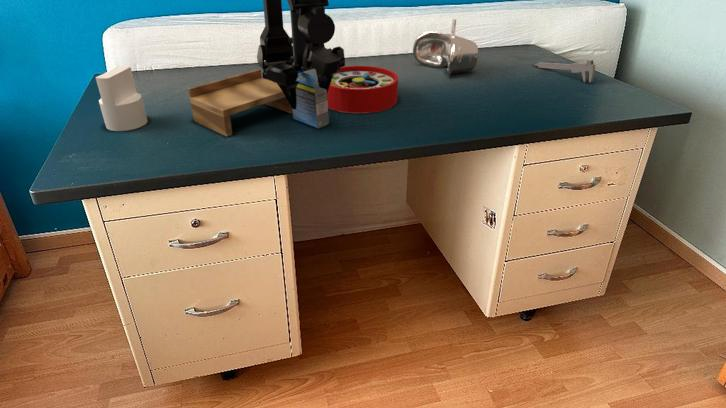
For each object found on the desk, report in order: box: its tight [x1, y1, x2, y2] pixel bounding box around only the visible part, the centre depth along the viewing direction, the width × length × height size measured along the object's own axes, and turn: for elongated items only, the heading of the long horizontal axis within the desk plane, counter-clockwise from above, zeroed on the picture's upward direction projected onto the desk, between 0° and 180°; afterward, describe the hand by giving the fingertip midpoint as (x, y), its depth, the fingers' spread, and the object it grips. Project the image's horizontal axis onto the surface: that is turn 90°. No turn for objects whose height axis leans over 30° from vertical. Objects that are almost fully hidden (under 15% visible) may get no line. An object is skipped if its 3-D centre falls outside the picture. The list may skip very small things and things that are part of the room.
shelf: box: [187, 68, 293, 137], centre depth 118 cm, size 20×13×8 cm, turn 138°
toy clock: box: [327, 65, 399, 114], centre depth 129 cm, size 20×6×20 cm
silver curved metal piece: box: [412, 18, 479, 76], centre depth 150 cm, size 18×11×14 cm, turn 33°
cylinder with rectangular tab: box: [95, 65, 149, 132], centre depth 113 cm, size 9×9×12 cm
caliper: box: [534, 59, 596, 83], centre depth 147 cm, size 20×1×6 cm, turn 32°
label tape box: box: [292, 71, 330, 129], centre depth 114 cm, size 9×4×12 cm, turn 47°
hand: (309, 103), depth 115 cm, fingers open, 9 cm apart
